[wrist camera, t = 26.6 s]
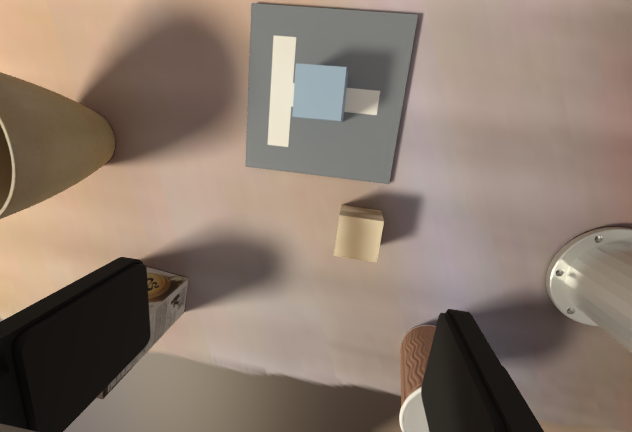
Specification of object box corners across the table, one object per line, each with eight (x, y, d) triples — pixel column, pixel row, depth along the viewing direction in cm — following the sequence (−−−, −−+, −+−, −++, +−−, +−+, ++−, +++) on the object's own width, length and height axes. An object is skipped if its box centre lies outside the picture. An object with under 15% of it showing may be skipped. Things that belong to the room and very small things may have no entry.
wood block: (381, 210, 39) (384, 221, 34) (374, 246, 41) (376, 262, 36) (341, 204, 40) (339, 215, 35) (336, 240, 41) (333, 255, 36)
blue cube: (348, 75, 35) (346, 67, 30) (343, 121, 36) (340, 120, 31) (304, 72, 35) (295, 63, 30) (301, 118, 37) (292, 116, 32)
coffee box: (130, 297, 48) (22, 377, 33) (132, 261, 46) (18, 327, 31) (185, 313, 47) (102, 403, 32) (190, 277, 46) (103, 353, 30)
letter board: (417, 16, 33) (418, 14, 32) (388, 183, 38) (389, 184, 37) (253, 5, 35) (251, 2, 34) (247, 165, 40) (245, 166, 39)
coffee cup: (444, 385, 45) (474, 474, 33) (377, 359, 45) (384, 438, 34) (479, 329, 42) (524, 406, 30) (407, 302, 42) (425, 367, 31)
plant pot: (35, 69, 40) (-163, 32, 25) (143, 91, 39) (4, 67, 24) (43, 181, 44) (-121, 208, 29) (140, 203, 43) (21, 244, 28)
